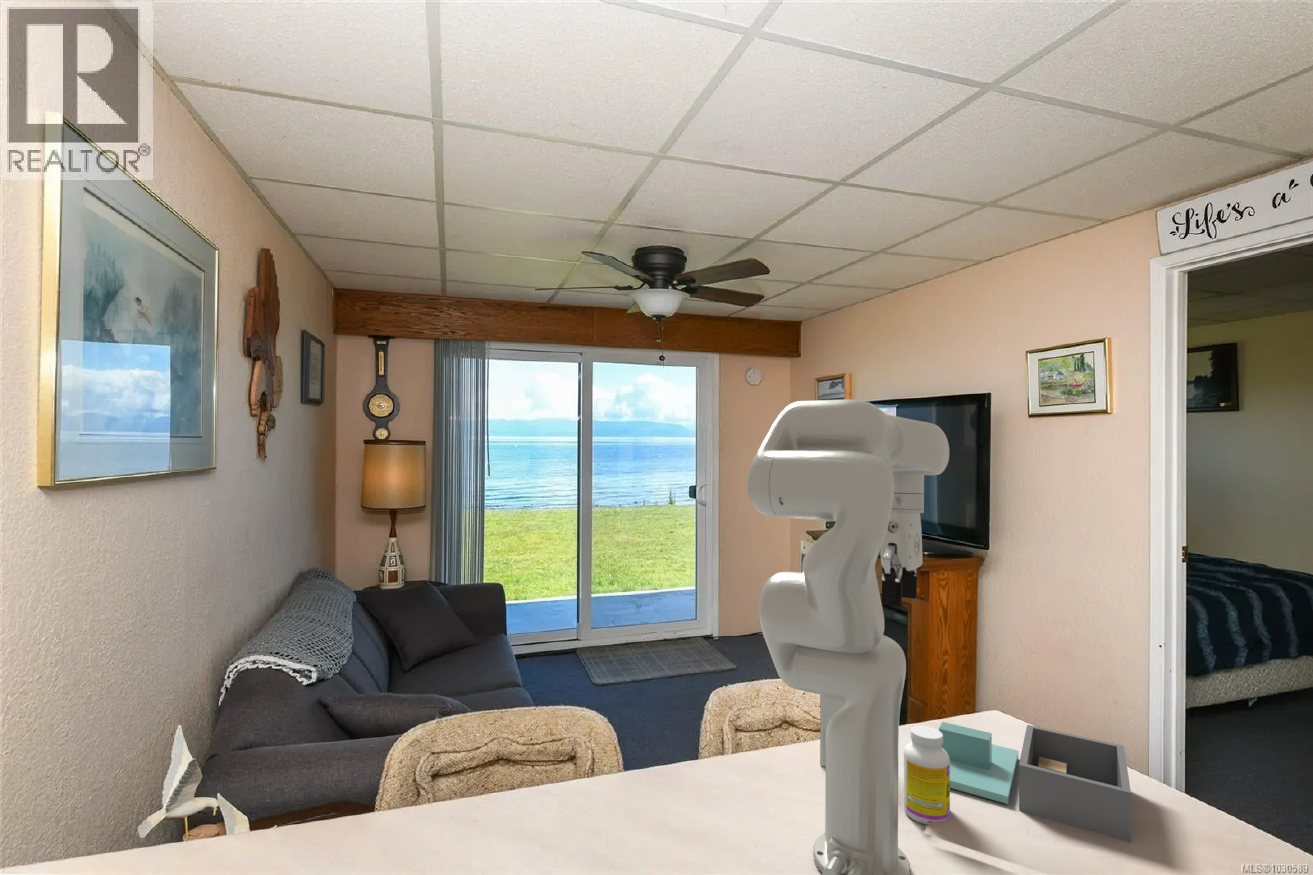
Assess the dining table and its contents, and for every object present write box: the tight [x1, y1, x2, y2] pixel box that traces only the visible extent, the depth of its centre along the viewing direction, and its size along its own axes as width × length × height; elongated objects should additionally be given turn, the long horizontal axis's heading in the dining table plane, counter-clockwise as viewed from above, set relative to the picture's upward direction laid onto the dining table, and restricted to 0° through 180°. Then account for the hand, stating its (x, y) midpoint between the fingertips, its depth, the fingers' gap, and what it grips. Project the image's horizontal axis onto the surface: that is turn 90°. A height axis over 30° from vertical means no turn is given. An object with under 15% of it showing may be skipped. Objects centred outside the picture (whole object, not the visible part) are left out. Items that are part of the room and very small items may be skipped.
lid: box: [938, 721, 1019, 805], centre depth 111 cm, size 19×15×8 cm
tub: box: [1018, 724, 1132, 843], centre depth 102 cm, size 18×14×8 cm
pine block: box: [1038, 757, 1067, 774], centre depth 107 cm, size 4×4×3 cm
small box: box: [819, 694, 845, 767], centre depth 116 cm, size 8×6×13 cm
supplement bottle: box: [903, 725, 951, 825], centre depth 98 cm, size 7×7×13 cm
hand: (899, 601), depth 110 cm, fingers open, 9 cm apart
